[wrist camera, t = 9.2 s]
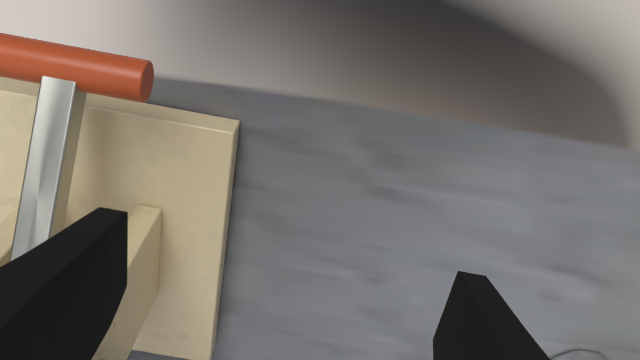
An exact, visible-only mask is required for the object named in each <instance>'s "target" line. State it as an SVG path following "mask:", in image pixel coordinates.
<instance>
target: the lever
mask: <svg viewBox="0 0 640 360" xmlns="http://www.w3.org/2000/svg"><path fill="white" fill-rule="evenodd" d="M0 77H4V78H10V79H15V80H21V81H26V82H32V83H37V84H40V87H39V93H38V99H37V104H36V110H35V116H34V122H33V127H32V133H31V139H30V145H29V150H28V156H27V162H26V168H25V173H24V179H23V185H22V191H21V196H20V202H19V208H18V214H17V219H16V225H15V231H14V237H13V242H12V248H11V254H10V260H9V262H10V261H12V260H14V259H16V258H17V257H19V256H21V255H23V254H25V253H26V252H28V251H30V250H31V249H33V248H34V247H36V246H38V245H39V244H41V243H43V242H44V241H46V240H48V239H49V238H51V237H52V236H54V235H56V234H57V233H59V232H60V231H62V230H63V227H64V221H65V215H66V209H67V204H68V198H69V192H70V187H71V181H72V175H73V169H74V164H75V158H76V152H77V147H78V141H79V135H80V129H81V124H82V118H83V112H84V107H85V101H86V95H87V93H91V94H97V95H102V96H108V97H113V98H119V99H124V100H129V101H135V102H140V103H144V102H146V101H147V100H148V98H149V96H150V94H151V90H152V86H153V79H154V70H153V65H152V63H151V62H150V61H148V60H143V59H137V58H133V57H127V56H122V55H116V54H111V53H106V52H100V51H95V50H90V49H84V48H79V47H73V46H68V45H63V44H57V43H52V42H46V41H41V40H36V39H30V38H24V37H19V36H14V35H9V34H3V33H0Z"/></svg>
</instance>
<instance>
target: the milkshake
mask: <svg viewBox="0 0 640 360" xmlns="http://www.w3.org/2000/svg"><path fill="white" fill-rule="evenodd" d="M552 360H606V359H604V358H603V357H602V356H601V355H600V354H598V353H596V352H587V351H578V350H574V351H571V352H568V353H565V354H562V355H559V356H556V357H554V358H553V359H552Z"/></svg>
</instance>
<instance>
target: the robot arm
mask: <svg viewBox="0 0 640 360" xmlns="http://www.w3.org/2000/svg"><path fill="white" fill-rule="evenodd" d="M127 258H128V212H126V211H120V210H114V209H109V208H103V207H99V208H97V209H95V210H94V211H92V212H90V213H89V214H87V215H85V216H84V217H82V218H81V219H79V220H78V221H76V222H75V223H73V224H71V225H70V226H68V227H67V228H65V229H63V230H62V231H60V232H59V233H57V234H56V235H54V236H52V237H51V238H49V239H48V240H46V241H44V242H43V243H41V244H39V245H38V246H36V247H34V248H33V249H31V250H30V251H28V252H26V253H25V254H23V255H21V256H19V257H17V258H16V259H14V260H12V261H10V262H8V263H6V264H5V265H3V266H1V267H0V360H92V358H93V356H94V354H95V353H96V351H97V349H98V347H99V346H100V344H101V342H102V340H103V339H104V337H105V335H106V333H107V332H108V330H109V328H110V326H111V324H112V322H113V319H114V317H115V315H116V312H117V310H118V308H119V305H120V303H121V300H122V298H123V295H124V293H125V290H126V288H127ZM433 360H550V359H549V357H548V356H547V355H546V354H545V353H544V351H543V350H542V349H541V348H540V347H539V345H538V344H537V343H536V342H535V340H534V339H533V338H532V337H531V335H530V334H529V333H528V331H527V330H526V329H525V328H524V326H523V325H522V324H521V322H520V321H519V320H518V318H517V317H516V316H515V314H514V313H513V312H512V310H511V309H510V308H509V306H508V305H507V304H506V302H505V301H504V300H503V298H502V297H501V295H500V294H499V293H498V291H497V290H496V289H495V287H494V286H493V285H492V283H491V282H490V281H489V280H488V278H487V277H486V276H483V275H477V274H472V273H466V272H461V271H458V272H457V275H456V278H455V281H454V283H453V286H452V289H451V292H450V294H449V297H448V300H447V303H446V305H445V308H444V311H443V314H442V316H441V319H440V322H439V325H438V327H437V330H436V333H435V335H434V338H433Z"/></svg>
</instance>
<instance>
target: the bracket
mask: <svg viewBox="0 0 640 360" xmlns="http://www.w3.org/2000/svg"><path fill="white" fill-rule="evenodd" d="M39 87H40V84H37V83H32V82H26V81H21V80H15V79H10V78H4V77H0V267H1V266H3V265H5V264H6V263H8V262H9V260H10V254H11V248H12V242H13V237H14V231H15V225H16V219H17V214H18V208H19V202H20V196H21V191H22V185H23V179H24V173H25V168H26V162H27V156H28V150H29V145H30V139H31V133H32V127H33V122H34V116H35V110H36V104H37V99H38V93H39ZM239 126H240V121H239V120H234V119H229V118H223V117H218V116H212V115H207V114H201V113H196V112H190V111H185V110H180V109H174V108H169V107H163V106H158V105H152V104H147V103H140V102H135V101H129V100H124V99H119V98H113V97H108V96H102V95H97V94H91V93H87V95H86V101H85V107H84V112H83V118H82V124H81V129H80V135H79V141H78V147H77V152H76V158H75V164H74V169H73V175H72V181H71V187H70V192H69V198H68V204H67V209H66V215H65V221H64V227H63V229H65V228H67V227H68V226H70V225H71V224H73V223H75V222H76V221H78V220H79V219H81V218H82V217H84V216H85V215H87V214H89V213H90V212H92V211H94V210H95V209H97V208H99V207H103V208H109V209H114V210H120V211H126V212H128V258H127V288H126V290H125V293H124V295H123V298H122V300H121V303H120V305H119V308H118V310H117V312H116V315H115V317H114V319H113V322H112V324H111V326H110V328H109V330H108V332H107V333H106V335H105V337H104V339H103V340H102V342H101V344H100V346H99V347H98V349H97V351H96V353H95V354H94V356H93V358H92V360H127V358H128V356H129V354H130V352H131V350H137V351H143V352H149V353H154V354H160V355H166V356H172V357H177V358H183V359H189V360H211V357H212V354H213V350H214V347H215V342H216V333H217V324H218V315H219V306H220V297H221V288H222V279H223V270H224V261H225V252H226V243H227V234H228V225H229V216H230V207H231V198H232V189H233V180H234V171H235V162H236V153H237V144H238V135H239Z"/></svg>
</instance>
